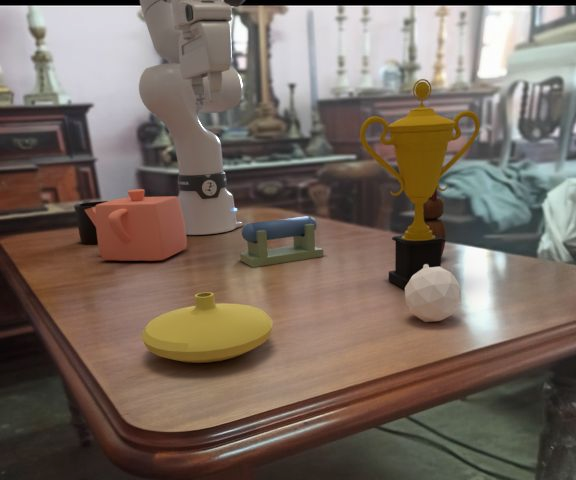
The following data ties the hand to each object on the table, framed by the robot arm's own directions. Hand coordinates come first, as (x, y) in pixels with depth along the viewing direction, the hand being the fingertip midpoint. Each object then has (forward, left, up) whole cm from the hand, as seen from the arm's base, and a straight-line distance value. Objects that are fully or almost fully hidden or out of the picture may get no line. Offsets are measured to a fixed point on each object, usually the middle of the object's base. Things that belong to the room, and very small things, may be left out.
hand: (207, 103), depth 105 cm
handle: (+4, +11, -25) cm, 28 cm away
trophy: (+34, +22, -29) cm, 50 cm away
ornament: (+50, +13, -29) cm, 59 cm away
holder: (+4, +11, -29) cm, 31 cm away
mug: (-43, -17, -29) cm, 55 cm away
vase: (+45, -16, -29) cm, 56 cm away
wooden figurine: (+22, +33, -29) cm, 49 cm away
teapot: (-18, -14, -29) cm, 37 cm away
